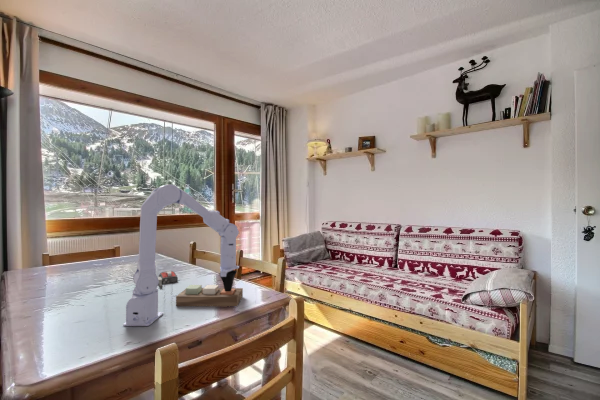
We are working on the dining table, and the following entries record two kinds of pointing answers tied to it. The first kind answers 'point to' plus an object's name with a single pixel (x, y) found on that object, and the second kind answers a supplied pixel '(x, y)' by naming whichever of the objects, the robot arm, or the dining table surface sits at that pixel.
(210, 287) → the key cream
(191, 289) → the key sage
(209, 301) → the wooden tray
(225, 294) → the key rust
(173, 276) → the walkie-talkie
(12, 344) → the dining table surface
